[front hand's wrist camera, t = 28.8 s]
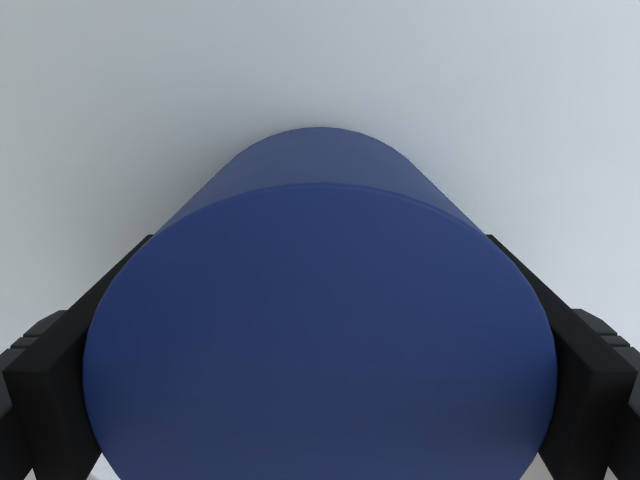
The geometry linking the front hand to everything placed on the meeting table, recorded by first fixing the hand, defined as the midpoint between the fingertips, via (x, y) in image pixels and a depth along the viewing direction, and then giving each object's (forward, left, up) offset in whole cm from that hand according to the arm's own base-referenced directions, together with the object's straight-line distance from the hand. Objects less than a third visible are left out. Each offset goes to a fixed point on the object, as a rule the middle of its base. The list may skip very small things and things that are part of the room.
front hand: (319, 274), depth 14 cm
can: (0, 0, -2) cm, 2 cm away
